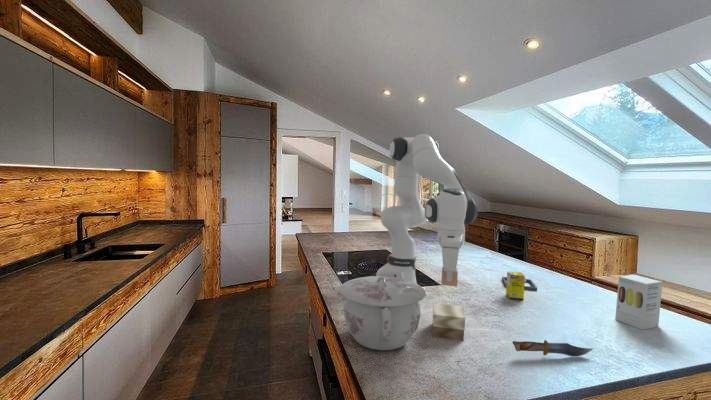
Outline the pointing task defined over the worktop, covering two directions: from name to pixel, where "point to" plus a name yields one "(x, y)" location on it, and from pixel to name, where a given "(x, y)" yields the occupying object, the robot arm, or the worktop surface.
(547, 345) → the knife
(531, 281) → the grey square frame
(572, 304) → the worktop surface
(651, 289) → the supplement box
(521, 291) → the supplement box
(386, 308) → the chamber pot
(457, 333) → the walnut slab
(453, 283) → the terracotta block
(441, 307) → the birch slab
